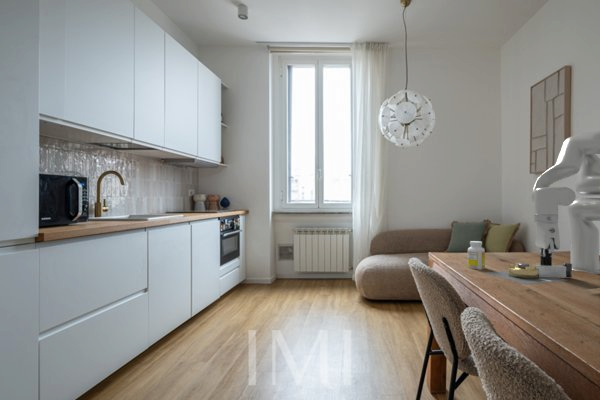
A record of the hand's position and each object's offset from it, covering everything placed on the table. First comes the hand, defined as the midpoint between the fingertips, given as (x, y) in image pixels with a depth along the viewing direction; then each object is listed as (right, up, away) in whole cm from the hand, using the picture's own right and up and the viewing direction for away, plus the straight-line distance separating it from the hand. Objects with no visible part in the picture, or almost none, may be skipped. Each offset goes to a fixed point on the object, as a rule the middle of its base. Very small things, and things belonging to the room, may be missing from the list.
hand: (546, 266), depth 136 cm
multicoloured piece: (-4, -3, -2) cm, 5 cm away
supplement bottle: (-19, -5, +17) cm, 26 cm away
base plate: (-9, -5, -1) cm, 10 cm away
